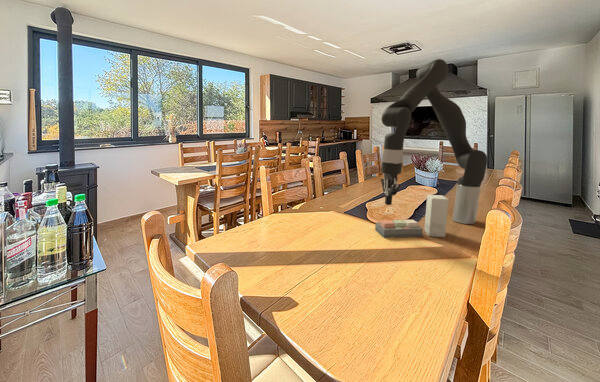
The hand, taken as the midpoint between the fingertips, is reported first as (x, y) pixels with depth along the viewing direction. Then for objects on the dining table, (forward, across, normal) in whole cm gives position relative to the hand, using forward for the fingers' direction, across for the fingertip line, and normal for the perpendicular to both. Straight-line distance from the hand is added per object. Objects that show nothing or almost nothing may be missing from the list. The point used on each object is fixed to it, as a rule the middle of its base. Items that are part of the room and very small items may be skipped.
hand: (388, 204), depth 114 cm
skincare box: (+12, +2, +20) cm, 23 cm away
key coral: (+9, 0, 0) cm, 9 cm away
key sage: (+9, 0, +5) cm, 11 cm away
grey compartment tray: (+12, 0, +5) cm, 13 cm away
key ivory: (+9, 0, +10) cm, 14 cm away
